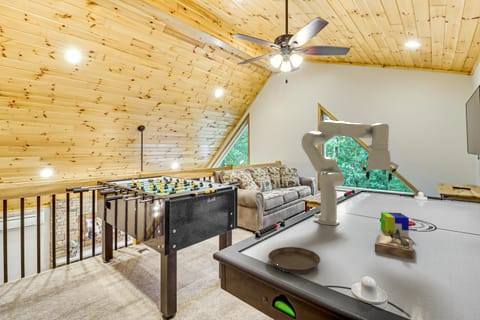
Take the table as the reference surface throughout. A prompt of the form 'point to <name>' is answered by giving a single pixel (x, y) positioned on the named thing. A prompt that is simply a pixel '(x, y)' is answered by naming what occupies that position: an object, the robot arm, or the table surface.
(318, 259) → the plant saucer
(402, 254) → the walnut tray
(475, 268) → the table surface
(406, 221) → the puzzle toy
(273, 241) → the table surface
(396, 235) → the eagle figurine
